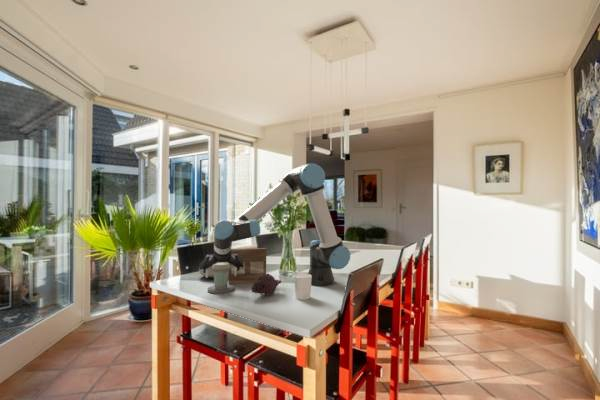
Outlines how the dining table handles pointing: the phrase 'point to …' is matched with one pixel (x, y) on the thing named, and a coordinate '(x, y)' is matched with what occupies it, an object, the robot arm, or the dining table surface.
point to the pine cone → (265, 284)
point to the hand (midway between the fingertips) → (221, 274)
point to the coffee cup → (221, 275)
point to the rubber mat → (222, 291)
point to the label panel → (248, 266)
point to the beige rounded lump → (210, 272)
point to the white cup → (303, 286)
